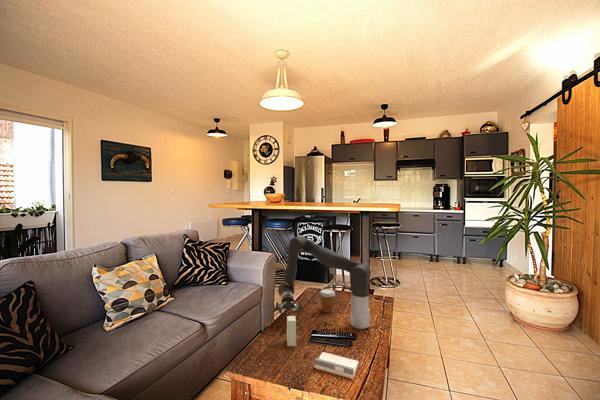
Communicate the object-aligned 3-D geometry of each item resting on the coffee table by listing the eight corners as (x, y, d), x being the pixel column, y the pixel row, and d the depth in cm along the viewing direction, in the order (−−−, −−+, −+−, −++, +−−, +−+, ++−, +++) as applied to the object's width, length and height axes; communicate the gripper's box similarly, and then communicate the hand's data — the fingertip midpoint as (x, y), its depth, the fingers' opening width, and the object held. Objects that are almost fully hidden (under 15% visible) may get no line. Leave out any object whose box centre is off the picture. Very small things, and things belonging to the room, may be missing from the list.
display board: (322, 355, 123) (322, 347, 123) (358, 364, 117) (358, 356, 117) (314, 368, 114) (314, 359, 114) (352, 379, 108) (352, 370, 108)
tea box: (294, 340, 136) (295, 315, 136) (295, 346, 131) (296, 320, 131) (286, 340, 136) (286, 316, 136) (287, 346, 130) (287, 321, 130)
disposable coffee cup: (330, 314, 165) (331, 295, 165) (316, 311, 170) (317, 291, 170) (337, 309, 173) (337, 290, 173) (323, 306, 178) (324, 287, 178)
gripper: (275, 293, 160) (275, 305, 144) (300, 293, 161) (303, 304, 145) (275, 306, 160) (275, 319, 144) (299, 306, 161) (302, 319, 145)
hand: (289, 312), depth 144 cm, fingers open, 8 cm apart
